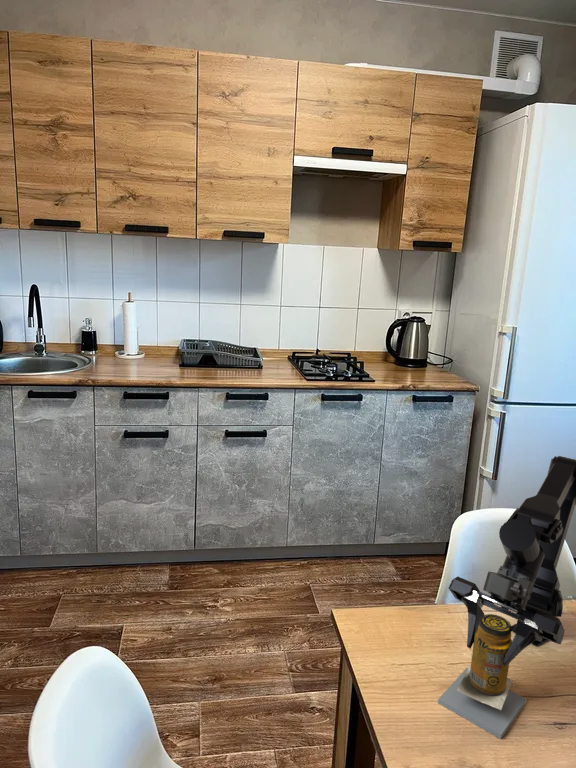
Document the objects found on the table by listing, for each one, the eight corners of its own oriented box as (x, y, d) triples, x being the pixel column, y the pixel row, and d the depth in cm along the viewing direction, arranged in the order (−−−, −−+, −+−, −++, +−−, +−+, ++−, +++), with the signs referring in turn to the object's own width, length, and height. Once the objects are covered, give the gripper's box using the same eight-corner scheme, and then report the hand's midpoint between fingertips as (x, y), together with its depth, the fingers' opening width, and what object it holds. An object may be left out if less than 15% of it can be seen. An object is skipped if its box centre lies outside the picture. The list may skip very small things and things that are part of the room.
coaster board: (466, 671, 109) (466, 667, 109) (525, 702, 102) (526, 698, 102) (437, 703, 101) (438, 698, 101) (500, 739, 94) (501, 734, 94)
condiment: (512, 680, 103) (521, 619, 100) (500, 711, 96) (510, 646, 93) (470, 664, 107) (478, 604, 104) (456, 692, 100) (463, 629, 97)
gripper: (458, 534, 105) (422, 616, 99) (569, 575, 93) (535, 671, 87) (473, 559, 112) (439, 636, 107) (577, 599, 100) (546, 689, 95)
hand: (486, 656), depth 99 cm, fingers closed on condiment, 6 cm apart
